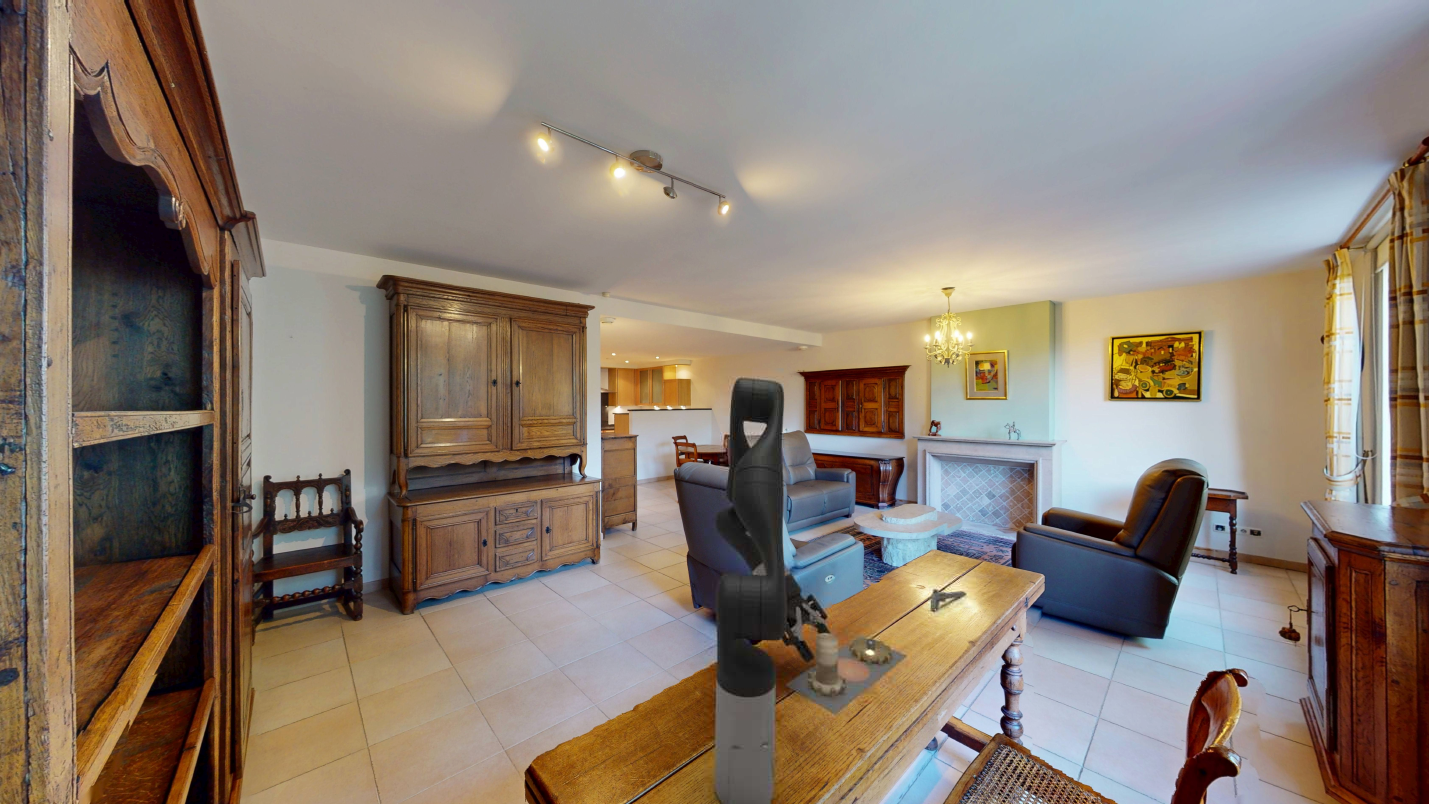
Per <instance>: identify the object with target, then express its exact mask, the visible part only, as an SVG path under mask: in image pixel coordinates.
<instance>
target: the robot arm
mask: <svg viewBox="0 0 1429 804" xmlns="http://www.w3.org/2000/svg"><path fill="white" fill-rule="evenodd" d="M784 409H785V392H784V387H783V385H782V384H781V383H779V382H778V381H774V380H769V379H768V380H767V379H759V378H750V377H740V378H737V379H736V380H735V382H734V384H733V387H732V391H731V398H730V412H729V415H730V416H729V463H728V464H729V467H728V472H727V473H728V474H727V480H726V481H727V482H726V488H725V489H726V490H725V494H726V495H725V496H726V499H727V500H728V501H729V502H730V503H731V504H732V505H731V506H729V507H726V508H724V509H722V510H720V511H719V512H718V513H717V514H716V515H715V520H714V523H715V528H716V531H717V532H718V534H719V536H720V537H721V538H722V539H723V540H724V541H725V542H726V543H727V544H728V545H729V546H730V547H731V548H732V549H733V550H734V551H735V552H737V554H739V556H741V557H742V558H743V560H744V562H745V563H746V565H747V567H748V568H749V570H750V572H751V573H752V574H743V573H724V574H723V575H722V576H721V577H720V578H719V581H718V583H717V586H716V592H715V594H716V595H715V619H716V620H715V622H716V645H717V646H716V676H715V677H716V681H715V682H716V685H715V688H716V689H715V730H714V731H715V732H714V733H715V734H714V735H715V738H714V739H715V740H714V746H715V747H714V791H715V794H716V796H717V798H718V800H719V801H720V802H721V804H771V803H772V802H771V801H772V799H773V798H774V797H773V796H774V792H775V791H774V789H775V787H774V786H775V784H774V783H775V734H776V733H775V732H776V728H775V726H776V693H777V692H776V688H777V687H776V686H777V685H776V683H777V669H776V667H777V666H776V663H775V660H774V659H773V658H772V656H771V655H770V654H769V653H768V652H766V651H764V650H763V649H762V648H759V647H757V646H755V645H753V644H752V643H749V642H748V641H746V640H752V641H754V640H755V641H759V640H760V641H771V642H772V641H773V642H776V641H779V640H782V642H783V645H784V646H785V647H789V646H793V647H795V648H796V651H797V652H798V653H799V656H801V658H802V660H803V661H804V662H805V663H809V662H811V661H812V660H813V659H815V654H814V653H813V652H812V650H811V649H810V647H809V645H808V643H807V642H806V640H805V639H803V633H802V629H803V626H804V625H807V626H811V627H812V628H813V629H816V632H817V635H818V634H821V633H829V634H832V632H831V631H830V630H829V628H828V626H827V625H826V620H827V619H828V618H829V617H828V615H827V613H826V612H825V610H824V609H823V607H821V605H820V603H819V602H818V601H817V599H816V598H815V596H814V595H813V594H811V593H810V594H808V595H806V597H805V598H804V597H803V596H802V592H803V589H802V588H801V586H800V585H799V583H798V582H797V580H796V579H795V578H794V576H793V574H792V573H791V571H790V569H789V568H788V566H787V565H786V564H785V557H784V556H785V555H784V539H783V538H784V531H783V530H784V529H783V528H784V468H783V467H784V466H783V427H784V426H783V425H784ZM744 422H749V423H756V424H765V425H766V426H765V428H764V430H763V432H762V433H761V435H760V436H759V438H758V440H757V441H755V443H754V444H753V445H752V446H750V444H749V442H748V439H747V437H746V433H745V429H744V428H745V427H744ZM747 533H748V534H747ZM819 615H820V616H819Z"/></svg>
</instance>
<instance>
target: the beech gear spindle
mask: <svg viewBox="0 0 1429 804" xmlns="http://www.w3.org/2000/svg"><path fill="white" fill-rule="evenodd" d="M815 645H816V646H815V647H816V648H815V655H816V656H815V665H816V671H814V672H811V671H810V672H809V673H808V688H809V689H813V690H814V691H815V692H816V693H817V696H820V697H821V695H824V696H830V697H831V698H832V699H836V696H837V695H839V694H843V695H844V694H845V687H846V685H845V678H844V676H842V677H840V676H839V675H838V650H839V637H837V636H836V635H835V634H832V633H831V634H829V633H821V634H818V633H817V635H816V641H815Z"/></svg>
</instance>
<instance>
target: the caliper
mask: <svg viewBox="0 0 1429 804" xmlns="http://www.w3.org/2000/svg"><path fill="white" fill-rule="evenodd" d="M966 594H967V593H966V592H965V591H963V590H958V591H950V592H946V591H945V592H944V591H940V590H939V589H937V588H935V589H932V593H931V598H930V611H932V612H934V611H938V610H939V607H940V603H946V600H949V599H956V598H963V597H965V596H966ZM935 609H936V610H935ZM937 609H938V610H937Z"/></svg>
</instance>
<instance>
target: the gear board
mask: <svg viewBox="0 0 1429 804" xmlns="http://www.w3.org/2000/svg"><path fill="white" fill-rule="evenodd" d="M860 637H863V636H861V635H859V636H857V637H856V638H855V639H857V640H858V639H860ZM864 638H865V639H867V638H866V637H864ZM850 642H851V643H853V640H852V641H850ZM850 642H849V643H847V644H846V645H844V646H843V647H841V648H840V649H839V648H838V675H839V676H840V677H842V676H844V678H845V685H846V687H845V694H844V695H843V694H839V695H837V696H836V699H832V698H831V697H830V696H824V695H821V697H820V696H817V693H816V692H815V691H814V690H813V689H809V688H808V673H809V672H810V671H811V672H814V671H816V664H815V665H814V666H812V667H810V668H809V669H807V670H806V671H804V672H803V673H801V674H800V675H798V676H797V677H795V678H793V679H792V680H790V681H789V682H787V683H785V686H786V687H787V688H789V689H790V690H792V691H794V692H796V693H798V694H800V695H801V696H802V697H805V698H806V699H808V700H810V701H812V702H813V703H815V704H817V705H818V706H820V707H821V708H824V709H825V710H827V711H828V712H830V713H832V714H834V715H837V714H838V713H839V712H841V711H842V710H843V709H844V708H846V706H847V707H848V705H849V704H850V703H852V702H853V701H854V700H855V699H857V698H858V697H859V696H861V694H863V693H864V692H865V691H867V689H869V688H870V687H871V686H872V685H874V684H875V683H876V682H877V681H879V680H880V679H881V678H883V676H885V675H886V674H887V673H889V672H890V671H891V670H892V669H893V668H895V667H896V666H897V665H898V664H899V663H901V662H902V661H903V660H905V658H907V657H908V655H906V654H903V653H902V652H899V651H897V650H895V649H892V648H891V651H892V660H891V659H890V663H889V664H887V663H883V664H882V666H879V665H878V664H871V665H868V664H867V662H864V661H861V662H859V661H858V660H857V657H855V656H852V655H851V651H850Z"/></svg>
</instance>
